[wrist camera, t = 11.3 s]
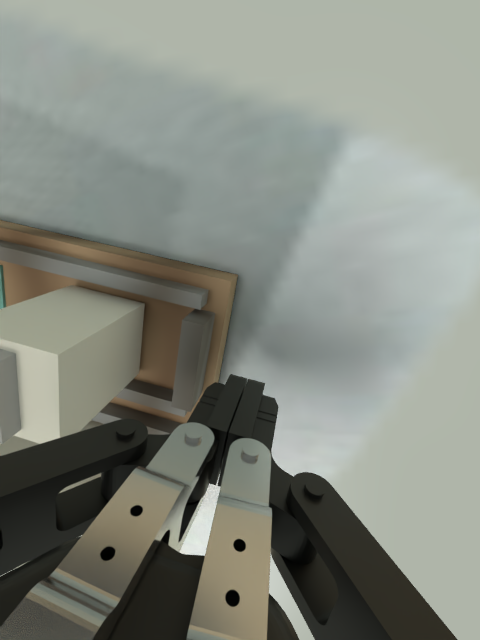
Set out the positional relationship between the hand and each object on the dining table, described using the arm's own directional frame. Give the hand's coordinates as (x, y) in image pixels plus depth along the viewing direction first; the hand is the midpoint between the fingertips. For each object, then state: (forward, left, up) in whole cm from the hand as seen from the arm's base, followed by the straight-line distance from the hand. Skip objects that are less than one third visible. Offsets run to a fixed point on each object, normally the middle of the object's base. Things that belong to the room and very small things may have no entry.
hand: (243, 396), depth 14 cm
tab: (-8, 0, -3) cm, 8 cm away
